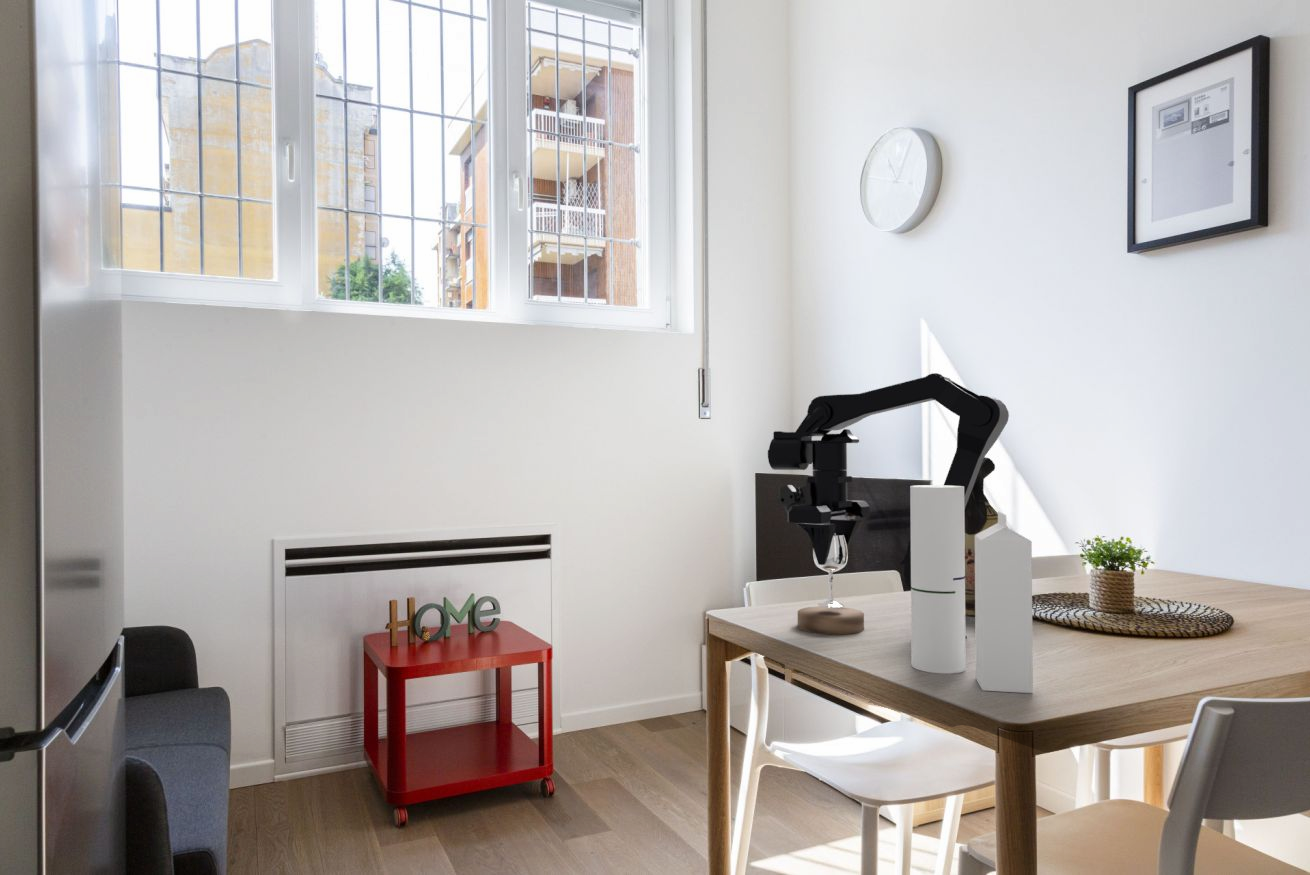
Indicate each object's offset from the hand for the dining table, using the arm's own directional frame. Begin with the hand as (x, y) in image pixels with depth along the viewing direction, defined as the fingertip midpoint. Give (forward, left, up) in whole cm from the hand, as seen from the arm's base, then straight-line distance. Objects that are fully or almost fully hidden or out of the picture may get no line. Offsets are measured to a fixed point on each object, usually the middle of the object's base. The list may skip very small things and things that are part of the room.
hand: (830, 562), depth 145 cm
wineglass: (0, 0, -7) cm, 7 cm away
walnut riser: (0, 0, -11) cm, 11 cm away
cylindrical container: (-24, +14, -11) cm, 30 cm away
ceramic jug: (-15, -28, -11) cm, 34 cm away
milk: (-34, +18, -11) cm, 40 cm away
